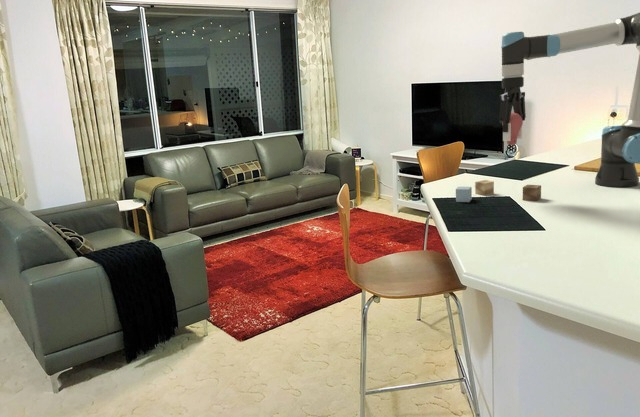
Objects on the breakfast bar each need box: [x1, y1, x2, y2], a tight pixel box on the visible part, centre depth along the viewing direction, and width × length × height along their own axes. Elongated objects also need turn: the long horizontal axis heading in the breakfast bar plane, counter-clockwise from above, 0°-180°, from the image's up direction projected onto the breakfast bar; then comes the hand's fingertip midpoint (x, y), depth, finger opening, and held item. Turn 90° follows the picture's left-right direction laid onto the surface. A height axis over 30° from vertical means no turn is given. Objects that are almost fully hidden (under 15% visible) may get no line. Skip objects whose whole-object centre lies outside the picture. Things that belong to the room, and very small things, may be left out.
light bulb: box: [501, 112, 524, 146], centre depth 190 cm, size 7×7×12 cm
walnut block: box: [522, 184, 542, 202], centre depth 190 cm, size 5×5×5 cm
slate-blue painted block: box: [455, 186, 473, 203], centre depth 196 cm, size 5×5×5 cm
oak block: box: [474, 179, 495, 196], centre depth 205 cm, size 5×5×5 cm
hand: (512, 139), depth 191 cm, fingers closed on light bulb, 7 cm apart
